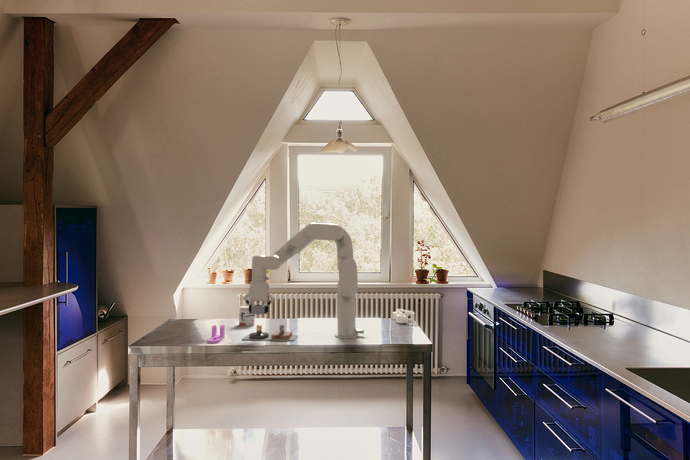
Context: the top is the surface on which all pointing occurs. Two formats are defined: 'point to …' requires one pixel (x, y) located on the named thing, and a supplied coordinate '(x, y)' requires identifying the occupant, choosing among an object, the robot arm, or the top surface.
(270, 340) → the mat
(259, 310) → the ring
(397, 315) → the skeletal toy car
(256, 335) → the hub
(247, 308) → the ink box
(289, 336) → the stand
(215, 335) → the bracket
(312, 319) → the top surface
